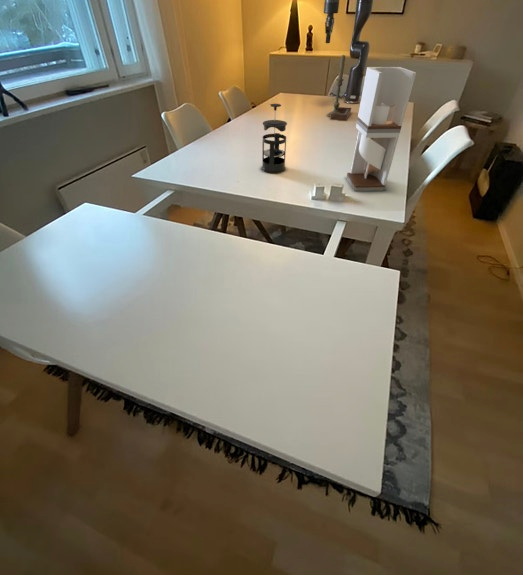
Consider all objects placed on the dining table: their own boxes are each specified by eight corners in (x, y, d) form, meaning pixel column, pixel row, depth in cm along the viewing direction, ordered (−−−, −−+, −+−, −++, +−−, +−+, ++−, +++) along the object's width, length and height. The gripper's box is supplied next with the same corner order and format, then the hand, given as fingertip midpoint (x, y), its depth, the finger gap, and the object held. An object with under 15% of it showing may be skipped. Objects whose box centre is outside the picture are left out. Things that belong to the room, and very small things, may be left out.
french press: (282, 174, 123) (286, 108, 108) (259, 172, 124) (259, 106, 109) (287, 164, 132) (291, 100, 116) (265, 162, 133) (266, 99, 118)
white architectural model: (346, 178, 121) (367, 67, 98) (373, 177, 121) (400, 67, 98) (354, 191, 112) (379, 72, 89) (384, 190, 113) (416, 72, 90)
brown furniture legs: (330, 119, 184) (331, 113, 182) (335, 112, 197) (336, 106, 195) (346, 120, 182) (347, 115, 180) (350, 113, 195) (351, 107, 193)
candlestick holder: (345, 115, 190) (355, 54, 170) (336, 118, 185) (346, 55, 165) (333, 113, 195) (341, 52, 175) (324, 115, 190) (331, 53, 170)
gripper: (327, 1, 170) (323, 41, 182) (322, 1, 161) (318, 44, 173) (341, 1, 169) (336, 42, 180) (336, 1, 159) (332, 44, 171)
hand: (327, 43), depth 177 cm, fingers closed
